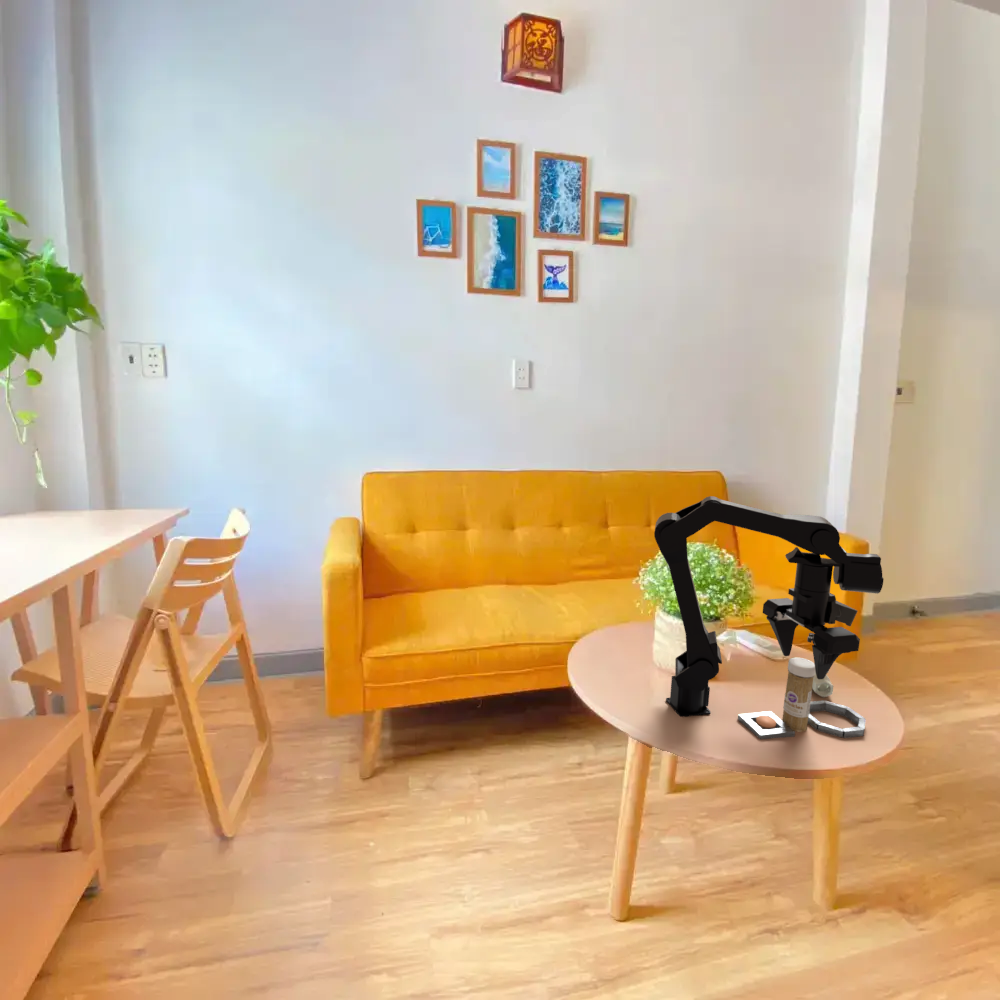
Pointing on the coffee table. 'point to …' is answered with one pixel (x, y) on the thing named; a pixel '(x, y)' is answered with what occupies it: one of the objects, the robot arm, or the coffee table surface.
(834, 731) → the socket ring
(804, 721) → the sprinkles bottle
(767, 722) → the plunger
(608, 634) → the coffee table surface
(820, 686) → the valve
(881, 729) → the coffee table surface
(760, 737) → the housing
